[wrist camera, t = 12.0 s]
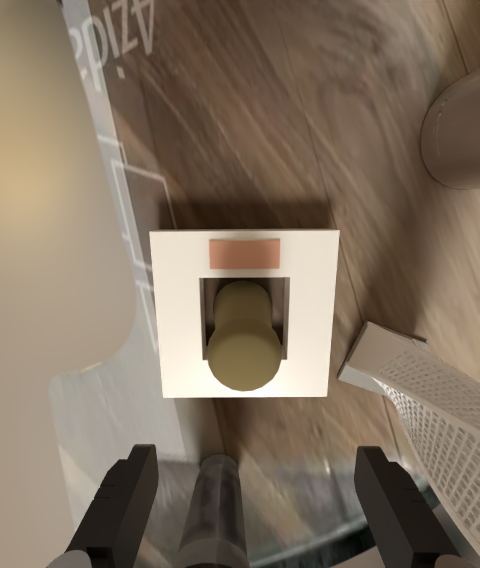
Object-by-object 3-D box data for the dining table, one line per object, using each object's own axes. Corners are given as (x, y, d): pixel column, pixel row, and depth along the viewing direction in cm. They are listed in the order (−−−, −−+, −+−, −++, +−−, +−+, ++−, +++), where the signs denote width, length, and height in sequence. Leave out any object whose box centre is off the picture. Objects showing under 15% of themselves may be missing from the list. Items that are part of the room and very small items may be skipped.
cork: (205, 288, 28) (185, 334, 18) (265, 273, 28) (281, 311, 17) (221, 342, 30) (211, 415, 19) (278, 329, 29) (300, 396, 19)
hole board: (328, 228, 27) (340, 230, 24) (318, 379, 31) (327, 397, 28) (159, 229, 27) (148, 231, 24) (170, 380, 31) (162, 398, 28)
